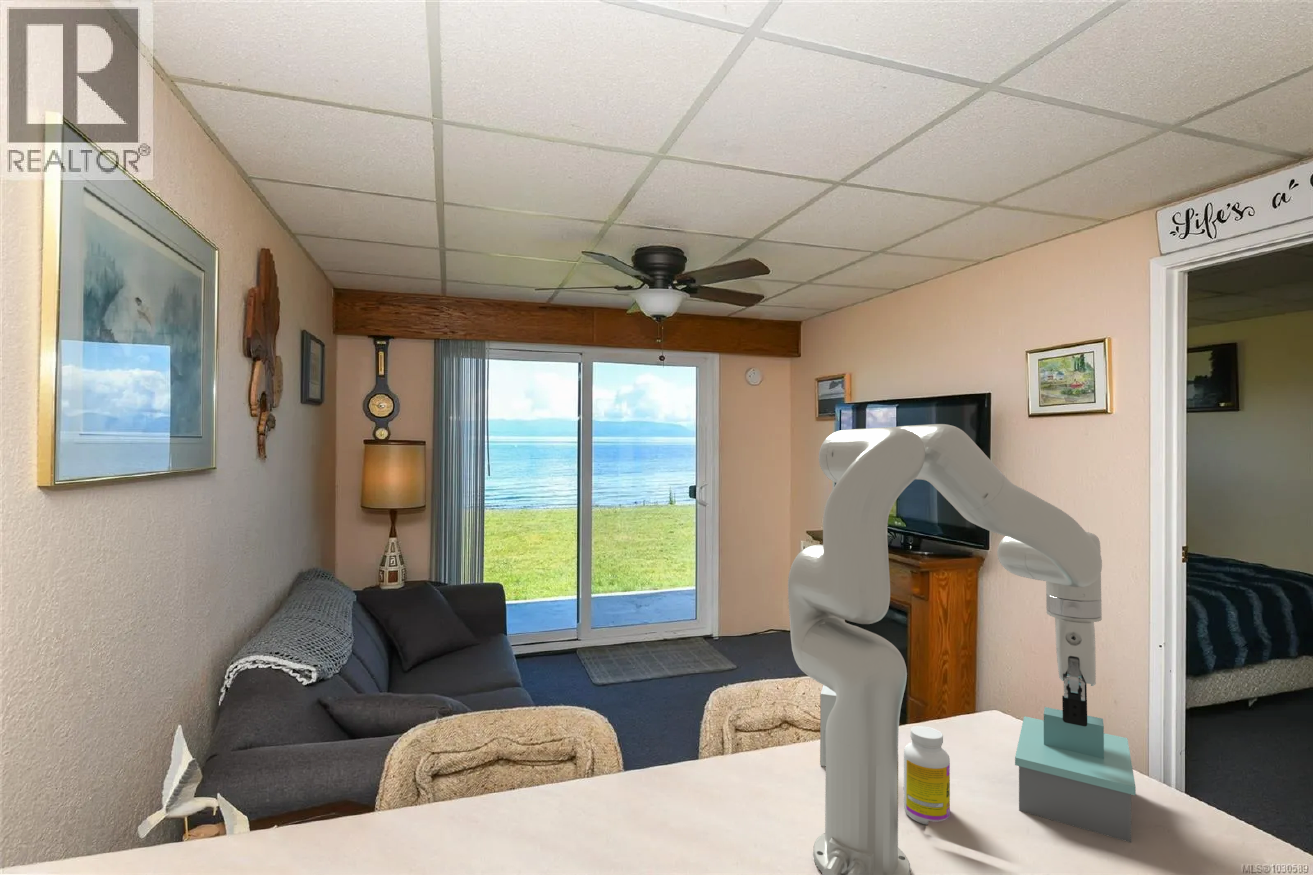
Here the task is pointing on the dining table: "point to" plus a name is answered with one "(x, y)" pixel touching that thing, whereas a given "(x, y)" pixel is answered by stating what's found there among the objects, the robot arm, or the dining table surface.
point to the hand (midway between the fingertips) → (1075, 712)
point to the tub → (1075, 803)
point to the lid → (1076, 751)
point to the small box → (825, 718)
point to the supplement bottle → (926, 776)
